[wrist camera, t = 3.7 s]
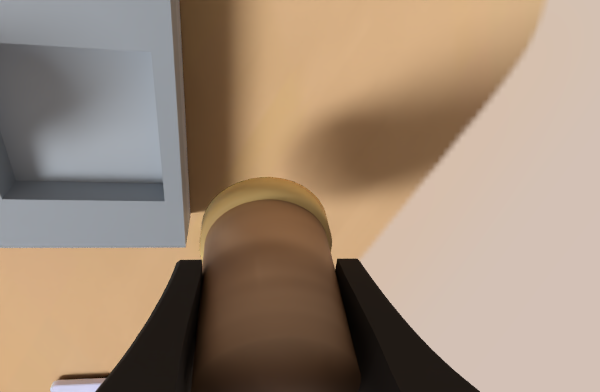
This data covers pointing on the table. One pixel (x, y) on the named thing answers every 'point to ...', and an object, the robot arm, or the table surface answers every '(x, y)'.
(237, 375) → the sleeve
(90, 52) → the grey divided tray
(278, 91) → the table surface
